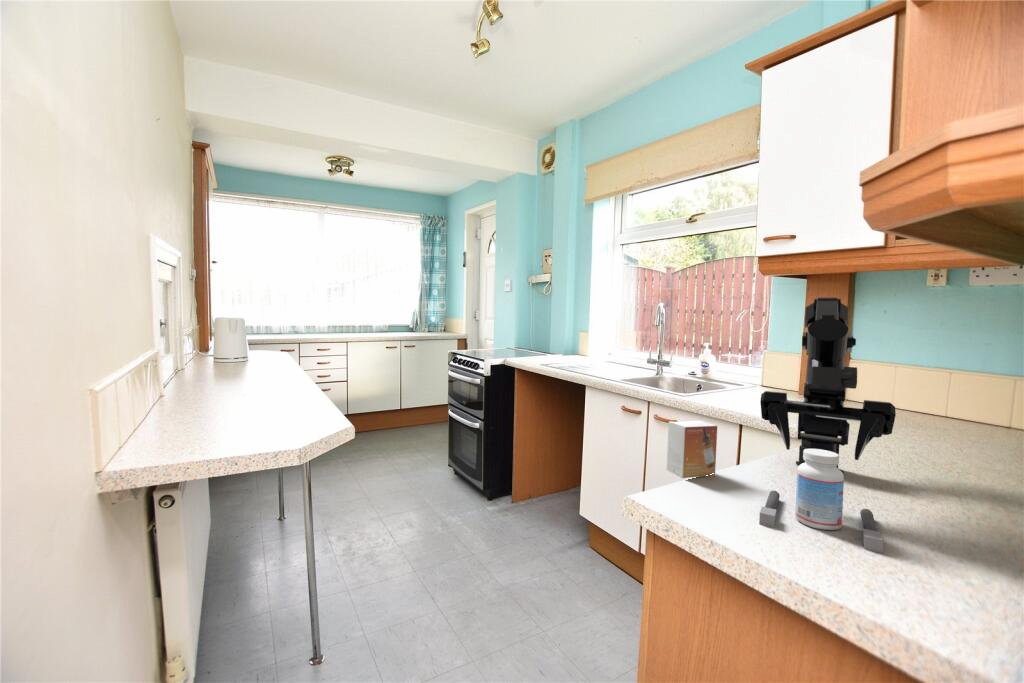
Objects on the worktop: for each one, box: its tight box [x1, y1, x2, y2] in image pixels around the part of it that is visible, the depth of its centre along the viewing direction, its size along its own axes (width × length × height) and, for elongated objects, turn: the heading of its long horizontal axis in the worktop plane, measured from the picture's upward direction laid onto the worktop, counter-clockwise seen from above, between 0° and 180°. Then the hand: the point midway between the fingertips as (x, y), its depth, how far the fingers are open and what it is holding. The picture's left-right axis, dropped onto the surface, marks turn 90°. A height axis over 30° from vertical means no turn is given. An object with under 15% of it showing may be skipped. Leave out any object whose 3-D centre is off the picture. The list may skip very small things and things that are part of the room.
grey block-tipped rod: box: [758, 490, 780, 528], centre depth 75 cm, size 13×2×2 cm, turn 145°
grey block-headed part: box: [859, 508, 884, 554], centre depth 68 cm, size 13×2×2 cm, turn 146°
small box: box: [666, 419, 718, 479], centre depth 94 cm, size 8×6×10 cm
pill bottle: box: [794, 449, 845, 531], centre depth 71 cm, size 6×6×11 cm
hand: (821, 453), depth 74 cm, fingers open, 9 cm apart
